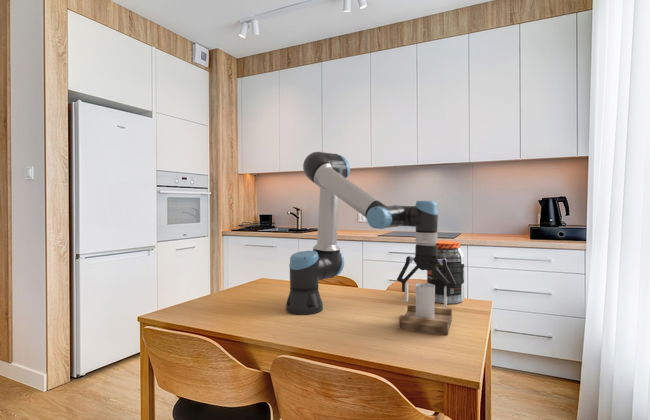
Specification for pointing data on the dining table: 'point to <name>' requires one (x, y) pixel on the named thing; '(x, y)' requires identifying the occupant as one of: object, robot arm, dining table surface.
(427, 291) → the mug
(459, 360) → the dining table surface
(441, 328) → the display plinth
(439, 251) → the supplement tub
